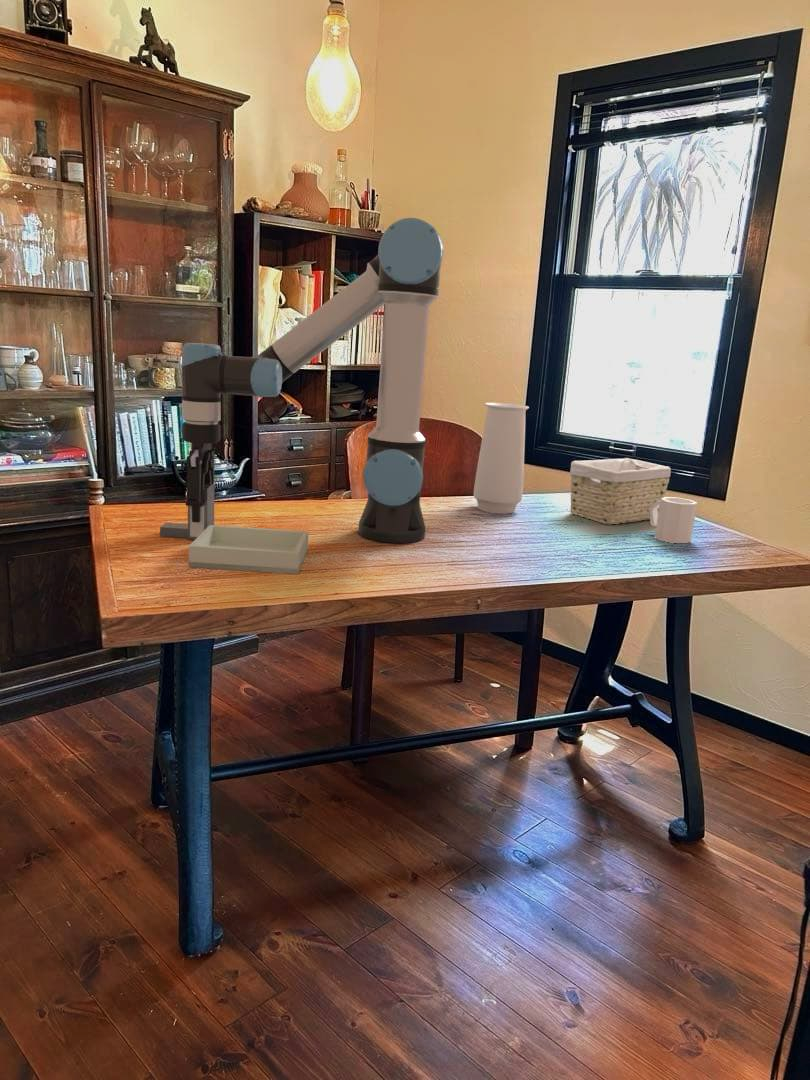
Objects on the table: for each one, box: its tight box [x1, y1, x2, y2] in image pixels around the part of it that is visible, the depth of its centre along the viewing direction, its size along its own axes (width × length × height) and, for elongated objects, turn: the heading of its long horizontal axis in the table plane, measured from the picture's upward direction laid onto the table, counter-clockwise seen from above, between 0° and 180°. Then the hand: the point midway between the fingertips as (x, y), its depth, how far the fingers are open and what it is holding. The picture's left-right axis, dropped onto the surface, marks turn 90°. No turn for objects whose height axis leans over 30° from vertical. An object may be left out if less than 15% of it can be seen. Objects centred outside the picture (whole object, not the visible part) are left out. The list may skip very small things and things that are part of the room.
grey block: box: [159, 482, 215, 541], centre depth 160 cm, size 10×6×11 cm, turn 90°
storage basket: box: [569, 457, 672, 526], centre depth 208 cm, size 24×16×15 cm
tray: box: [188, 524, 309, 575], centre depth 149 cm, size 20×16×4 cm
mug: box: [649, 496, 698, 544], centre depth 189 cm, size 12×9×10 cm
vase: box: [473, 402, 530, 515], centre depth 204 cm, size 13×13×28 cm
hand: (201, 532), depth 161 cm, fingers closed on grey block, 6 cm apart
